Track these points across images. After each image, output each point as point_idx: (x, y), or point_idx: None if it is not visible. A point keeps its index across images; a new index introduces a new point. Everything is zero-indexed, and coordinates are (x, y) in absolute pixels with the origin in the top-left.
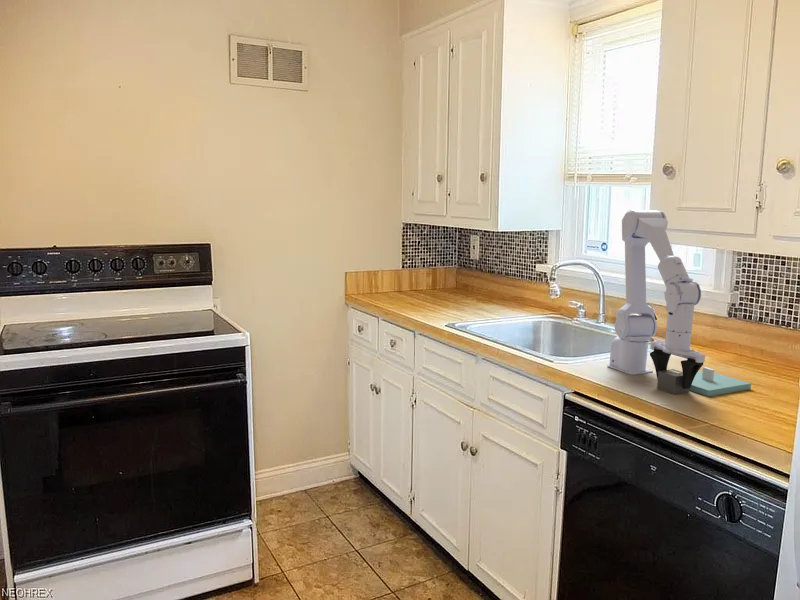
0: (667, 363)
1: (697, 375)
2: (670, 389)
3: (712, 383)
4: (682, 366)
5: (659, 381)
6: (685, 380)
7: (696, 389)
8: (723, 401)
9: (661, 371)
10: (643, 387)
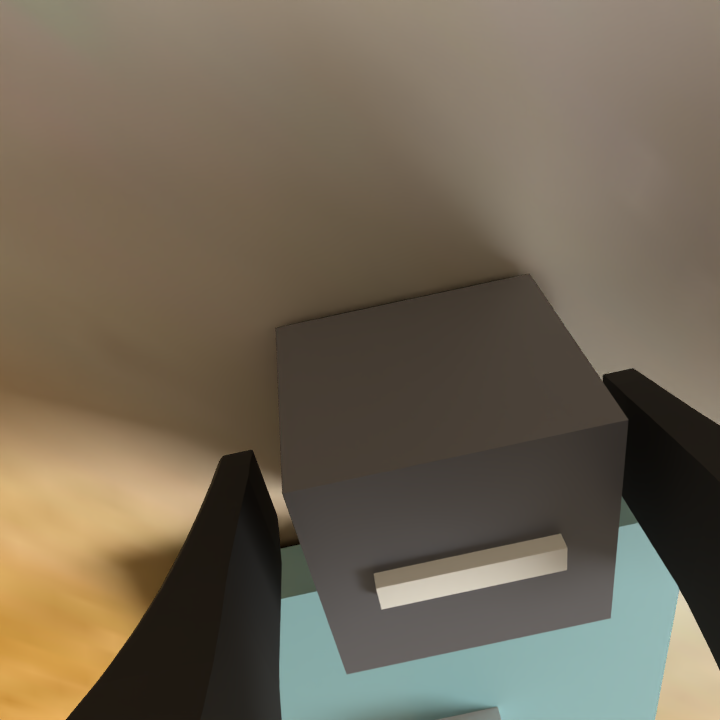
0: (707, 639)
1: (577, 713)
2: (336, 340)
3: (360, 715)
4: (183, 714)
5: (534, 333)
6: (188, 538)
7: (301, 569)
8: (50, 609)
9: (589, 445)
10: (651, 147)
